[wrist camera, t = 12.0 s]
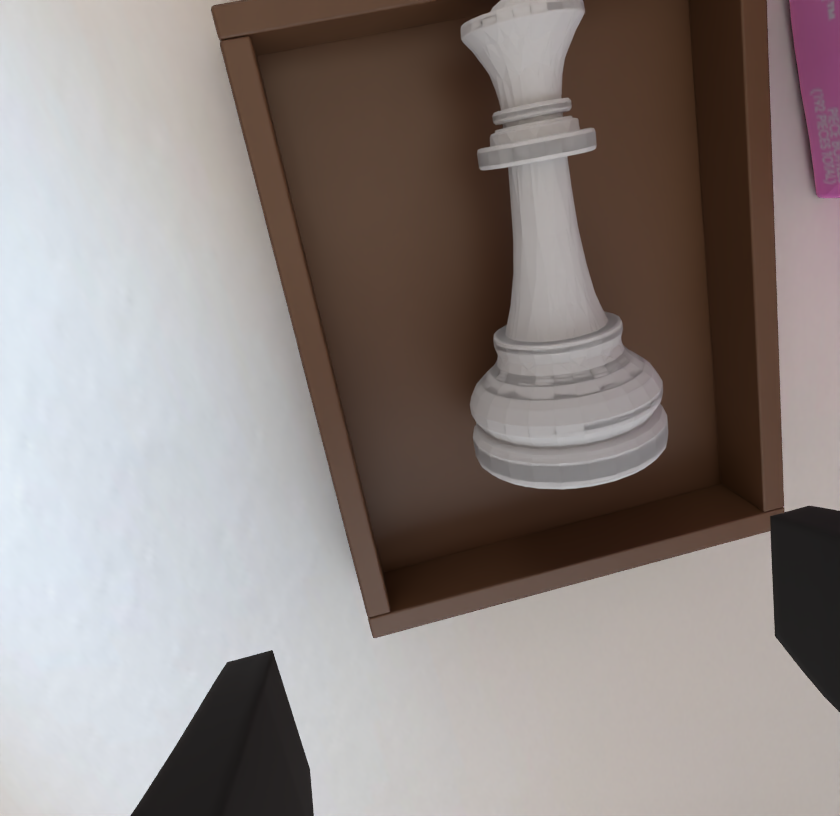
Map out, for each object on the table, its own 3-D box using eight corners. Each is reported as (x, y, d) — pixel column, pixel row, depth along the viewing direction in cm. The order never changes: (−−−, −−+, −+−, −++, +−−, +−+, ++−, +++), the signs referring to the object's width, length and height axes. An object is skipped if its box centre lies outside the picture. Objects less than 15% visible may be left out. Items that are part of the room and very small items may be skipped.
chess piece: (470, 428, 18) (401, 8, 15) (636, 401, 18) (603, -33, 15) (484, 507, 14) (394, -50, 11) (699, 473, 14) (675, -108, 11)
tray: (730, 490, 21) (785, 527, 18) (364, 586, 19) (373, 639, 17) (697, -49, 16) (764, -93, 14) (224, 36, 15) (209, 4, 13)
